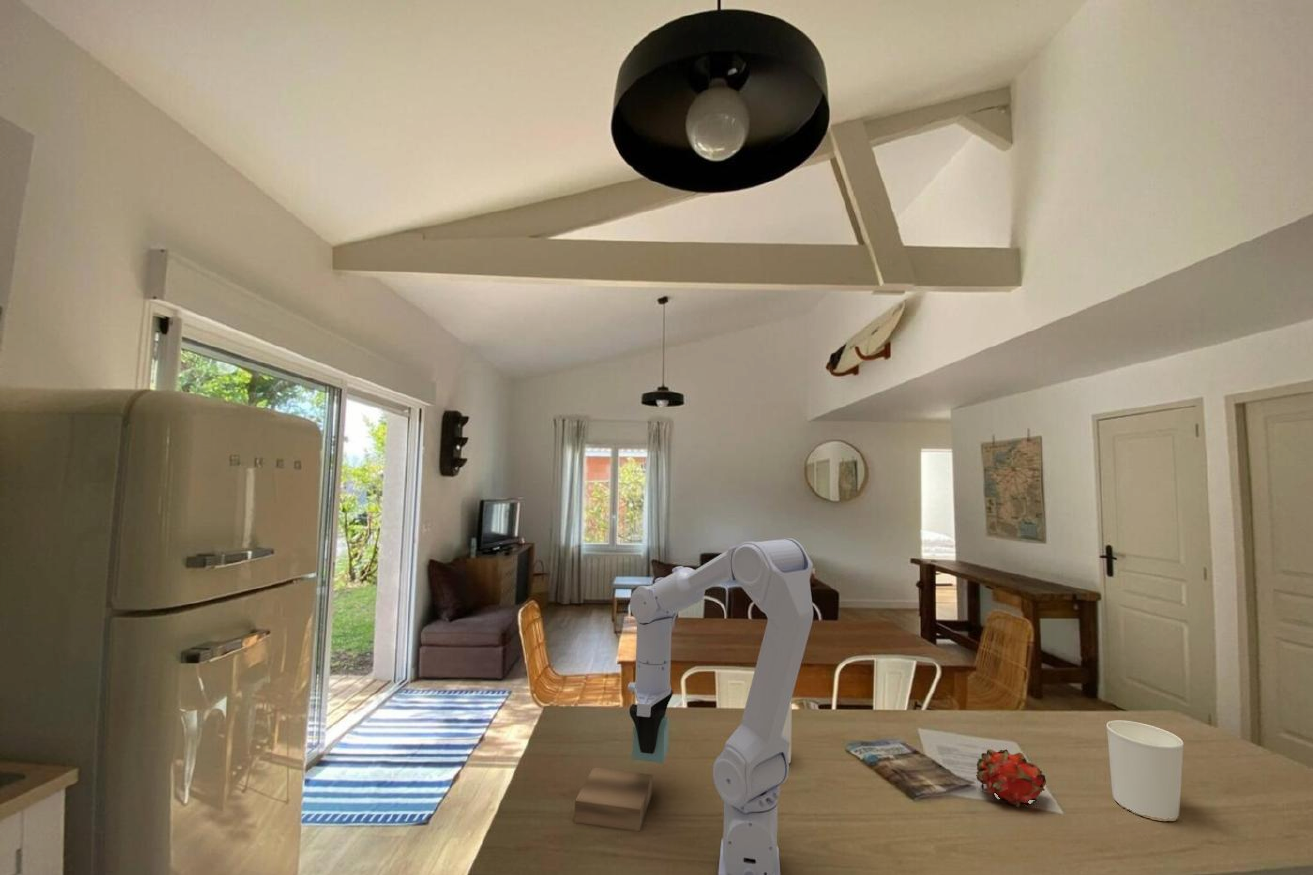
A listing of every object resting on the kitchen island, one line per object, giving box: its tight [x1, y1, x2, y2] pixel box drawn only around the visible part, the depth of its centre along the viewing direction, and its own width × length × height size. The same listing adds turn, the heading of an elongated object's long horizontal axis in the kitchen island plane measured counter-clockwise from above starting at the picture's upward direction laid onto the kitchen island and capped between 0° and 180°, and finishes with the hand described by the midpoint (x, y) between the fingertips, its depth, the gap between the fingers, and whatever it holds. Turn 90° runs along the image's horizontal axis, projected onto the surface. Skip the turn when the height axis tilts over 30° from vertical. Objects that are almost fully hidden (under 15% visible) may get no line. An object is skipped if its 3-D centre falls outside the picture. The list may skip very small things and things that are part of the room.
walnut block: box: [573, 767, 653, 832], centre depth 91 cm, size 10×10×4 cm
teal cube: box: [632, 716, 670, 764], centre depth 95 cm, size 5×5×5 cm
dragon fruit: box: [975, 748, 1047, 808], centre depth 97 cm, size 8×8×12 cm
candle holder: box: [1106, 719, 1185, 819], centre depth 96 cm, size 10×10×12 cm
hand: (650, 743), depth 95 cm, fingers closed on teal cube, 5 cm apart
